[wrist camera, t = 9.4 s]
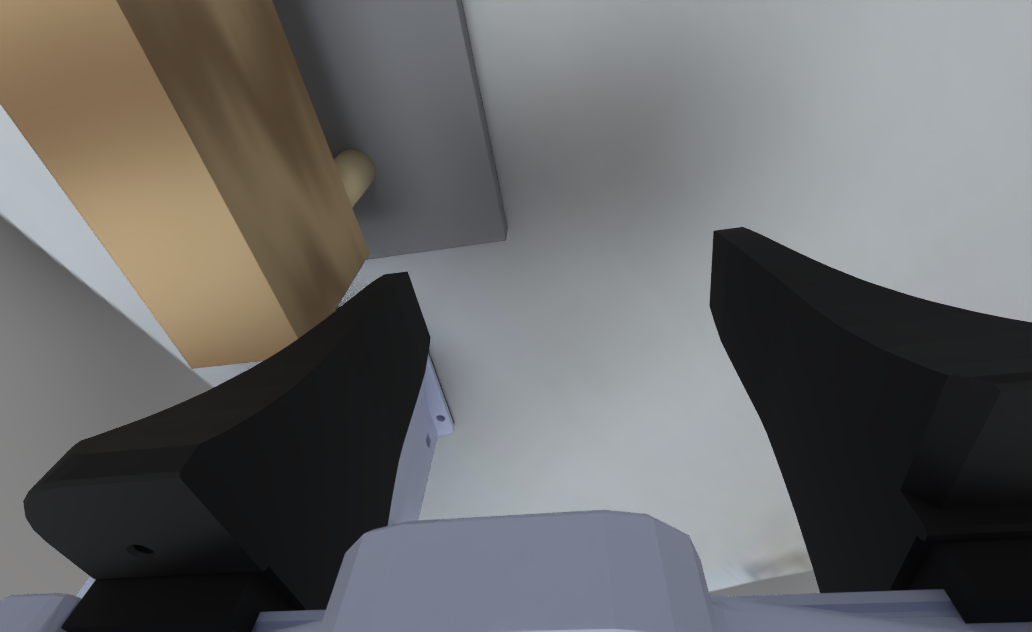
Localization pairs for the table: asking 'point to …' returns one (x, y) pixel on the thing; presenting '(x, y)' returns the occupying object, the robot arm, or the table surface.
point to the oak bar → (188, 162)
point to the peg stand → (400, 118)
